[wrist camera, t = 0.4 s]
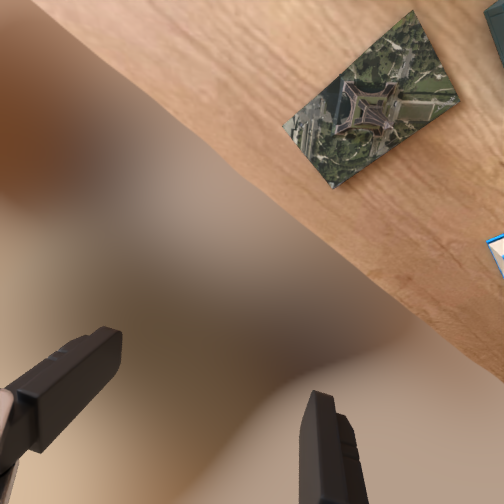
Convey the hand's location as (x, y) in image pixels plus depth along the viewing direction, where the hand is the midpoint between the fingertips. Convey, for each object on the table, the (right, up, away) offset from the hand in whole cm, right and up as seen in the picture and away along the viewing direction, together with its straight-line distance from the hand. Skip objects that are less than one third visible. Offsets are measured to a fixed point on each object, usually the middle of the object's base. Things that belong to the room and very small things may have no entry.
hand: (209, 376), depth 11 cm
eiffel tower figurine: (+14, +20, +19) cm, 31 cm away
